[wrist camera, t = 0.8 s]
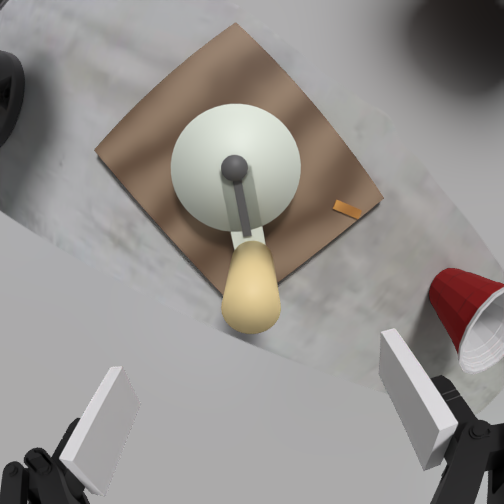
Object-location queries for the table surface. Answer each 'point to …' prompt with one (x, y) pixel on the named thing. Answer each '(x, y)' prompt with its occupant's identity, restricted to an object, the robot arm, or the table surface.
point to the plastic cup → (471, 316)
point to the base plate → (249, 93)
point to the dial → (239, 198)
